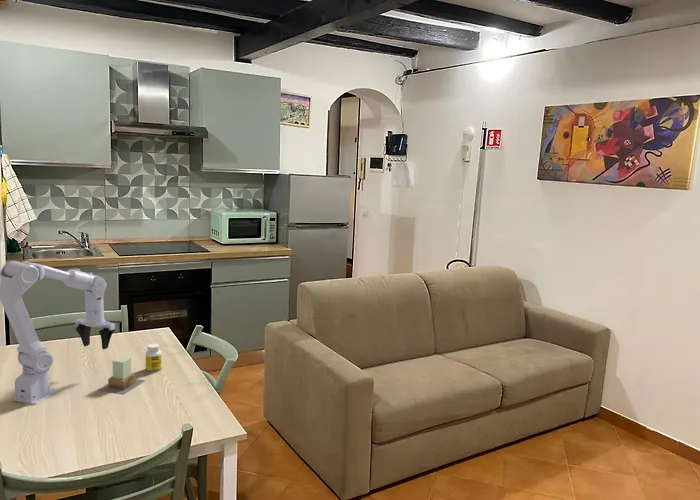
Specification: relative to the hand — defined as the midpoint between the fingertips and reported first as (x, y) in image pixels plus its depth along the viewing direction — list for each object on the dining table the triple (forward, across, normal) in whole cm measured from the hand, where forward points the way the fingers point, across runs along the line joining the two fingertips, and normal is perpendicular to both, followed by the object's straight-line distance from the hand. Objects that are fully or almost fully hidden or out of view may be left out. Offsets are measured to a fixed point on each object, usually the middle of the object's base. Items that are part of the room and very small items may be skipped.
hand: (95, 346), depth 191 cm
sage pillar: (+7, -14, +5) cm, 16 cm away
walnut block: (+10, -14, +5) cm, 18 cm away
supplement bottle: (+11, -16, -10) cm, 22 cm away
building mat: (+10, -14, +5) cm, 18 cm away
